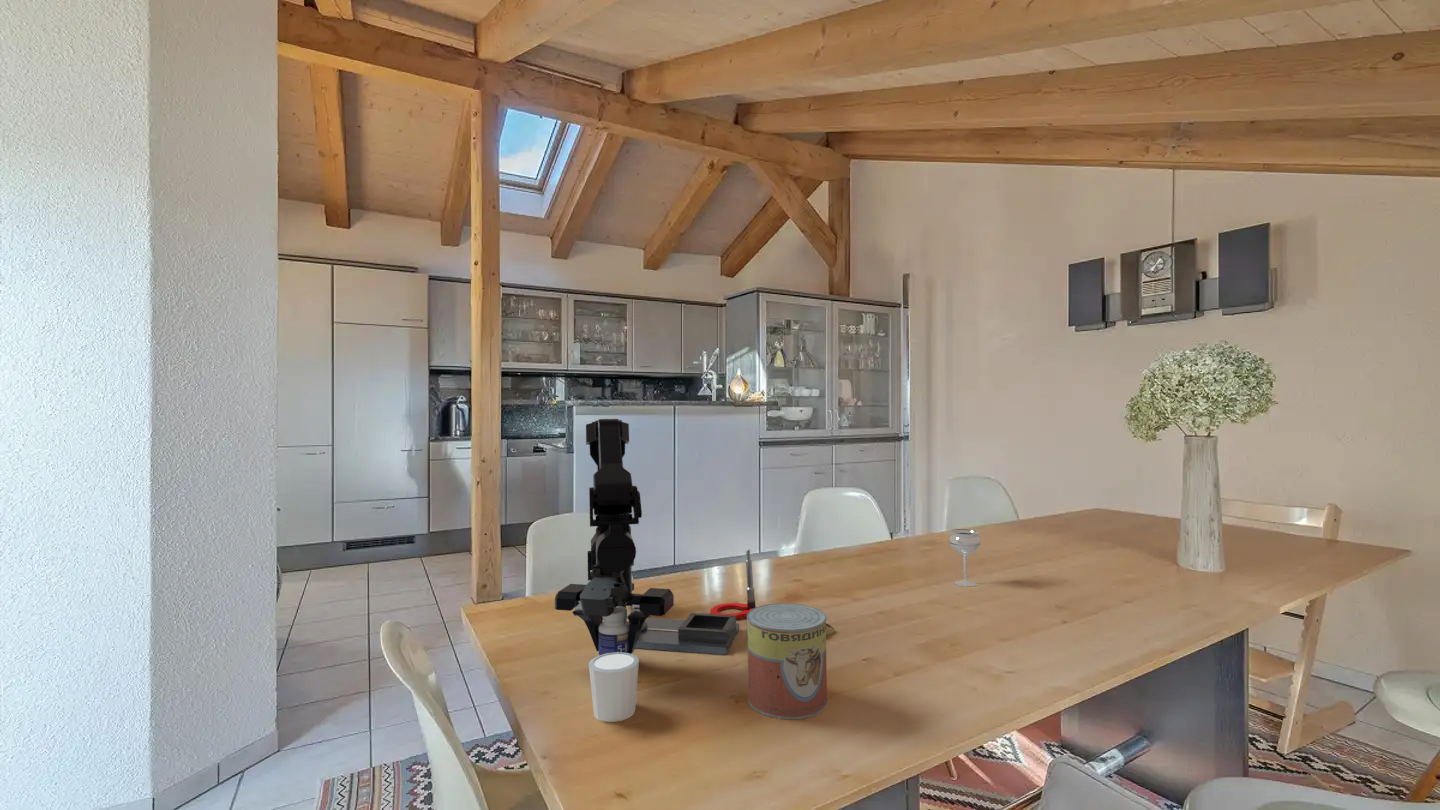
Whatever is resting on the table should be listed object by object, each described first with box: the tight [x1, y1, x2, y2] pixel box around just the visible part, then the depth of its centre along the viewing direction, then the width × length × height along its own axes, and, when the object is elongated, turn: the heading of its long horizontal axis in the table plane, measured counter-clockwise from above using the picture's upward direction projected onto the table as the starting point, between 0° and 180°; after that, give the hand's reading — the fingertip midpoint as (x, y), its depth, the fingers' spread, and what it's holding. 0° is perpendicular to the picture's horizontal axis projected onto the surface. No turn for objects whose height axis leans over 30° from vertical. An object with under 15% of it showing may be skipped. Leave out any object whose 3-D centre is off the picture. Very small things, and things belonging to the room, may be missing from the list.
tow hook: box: [709, 549, 757, 620], centre depth 126 cm, size 8×13×9 cm
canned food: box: [746, 602, 829, 720], centre depth 89 cm, size 11×11×12 cm
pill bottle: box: [598, 606, 630, 656], centre depth 102 cm, size 5×5×9 cm
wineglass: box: [949, 528, 981, 587], centre depth 145 cm, size 7×7×12 cm
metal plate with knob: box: [625, 592, 740, 656], centre depth 114 cm, size 23×12×7 cm, turn 77°
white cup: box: [588, 652, 640, 723], centre depth 86 cm, size 7×7×7 cm
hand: (615, 651), depth 102 cm, fingers closed on pill bottle, 5 cm apart
